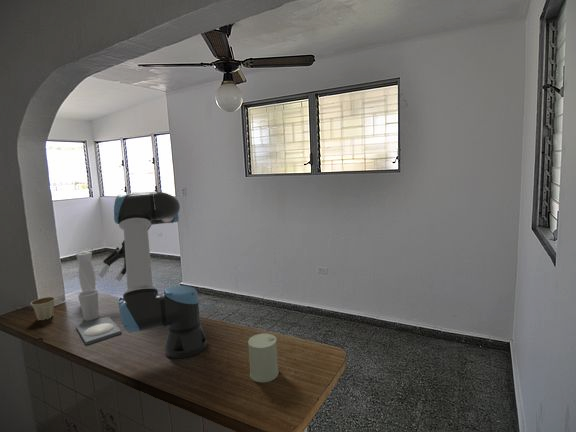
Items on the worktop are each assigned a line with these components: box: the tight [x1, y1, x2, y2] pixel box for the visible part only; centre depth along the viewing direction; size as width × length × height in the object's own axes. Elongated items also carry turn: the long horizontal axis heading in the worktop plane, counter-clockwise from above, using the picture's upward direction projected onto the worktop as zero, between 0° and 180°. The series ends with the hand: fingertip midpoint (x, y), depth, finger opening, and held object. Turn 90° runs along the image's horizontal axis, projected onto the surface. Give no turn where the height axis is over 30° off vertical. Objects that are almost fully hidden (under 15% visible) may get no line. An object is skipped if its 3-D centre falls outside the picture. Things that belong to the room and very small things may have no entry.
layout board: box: [75, 315, 122, 346], centre depth 146 cm, size 20×13×1 cm, turn 41°
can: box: [247, 333, 280, 383], centre depth 110 cm, size 9×9×12 cm
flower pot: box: [30, 296, 56, 321], centre depth 162 cm, size 9×9×9 cm
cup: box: [77, 289, 100, 321], centre depth 160 cm, size 8×8×12 cm
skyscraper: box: [75, 247, 97, 292], centre depth 181 cm, size 8×8×28 cm
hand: (108, 278), depth 168 cm, fingers open, 13 cm apart
